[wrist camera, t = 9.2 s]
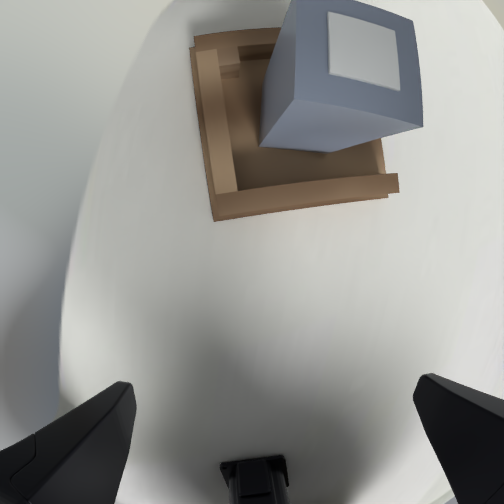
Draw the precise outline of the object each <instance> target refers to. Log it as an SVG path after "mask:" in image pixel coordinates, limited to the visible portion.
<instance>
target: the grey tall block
mask: <svg viewBox="0 0 504 504" xmlns="http://www.w3.org/2000/svg"><path fill="white" fill-rule="evenodd" d="M421 127H423V105H422V89H421V77H420V67H419V58H418V50H417V43H416V36H415V30H414V25H413V21H412V20H409V19H407V18H404V17H402V16H399V15H397V14H394V13H391V12H388V11H386V10H383V9H380V8H377V7H374V6H371V5H368V4H364V3H361V2H358V1H354V0H291V3H290V6H289V8H288V11H287V14H286V17H285V19H284V22H283V25H282V28H281V30H280V33H279V36H278V39H277V42H276V45H275V47H274V50H273V53H272V56H271V59H270V62H269V65H268V68H267V71H266V74H265V77H264V80H263V83H262V98H261V115H260V131H259V147H266V148H277V149H288V150H298V151H307V152H315V153H323V154H328V153H331V152H334V151H338V150H341V149H344V148H348V147H351V146H354V145H358V144H361V143H365V142H368V141H372V140H375V139H379V138H382V137H386V136H390V135H393V134H397V133H401V132H405V131H409V130H413V129H417V128H421Z"/></svg>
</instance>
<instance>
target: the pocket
mask: <svg viewBox="0 0 504 504" xmlns="http://www.w3.org/2000/svg"><path fill="white" fill-rule="evenodd" d="M280 30H281V28H260V29H247V30H236V31H227V32H219V33H212V34H205V35H199V36H194V42H195V47H191V48H189V49H190V58H191V66H192V75H193V83H194V91H195V99H196V106H197V114H198V121H199V128H200V135H201V143H202V149H203V156H204V163H205V170H206V176H207V183H208V189H209V195H210V202H211V208H212V214H213V220H214V222H216V221H222V220H229V219H235V218H241V217H247V216H254V215H261V214H267V213H274V212H281V211H288V210H295V209H302V208H309V207H317V206H324V205H332V204H340V203H348V202H356V201H364V200H373V199H381V198H388V194H390V193H400V192H399V182H398V173H391V174H386V171H385V163H384V156H383V149H382V142H381V138H379V139H375V140H372V141H368V142H365V143H361V144H358V145H354V146H351V147H348V148H344V149H341V150H338V151H334V152H331V153H328V154H323V153H315V152H307V151H298V150H288V149H277V148H266V147H259V131H260V115H261V98H262V83H263V80H264V77H265V74H266V71H267V68H268V65H269V62H270V59H271V56H272V53H273V50H274V47H275V45H276V42H277V39H278V36H279V33H280Z"/></svg>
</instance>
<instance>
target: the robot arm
mask: <svg viewBox="0 0 504 504" xmlns="http://www.w3.org/2000/svg"><path fill="white" fill-rule="evenodd" d="M413 401H414V404H415V406H416V409H417V411H418V414H419V416H420V419H421V422H422V424H423V427H424V430H425V432H426V435H427V437H428V439H429V441H430V443H431V445H432V447H433V449H434V451H435V453H436V455H437V457H438V460H439V462H440V464H441V466H442V468H443V470H444V472H445V475H446V477H447V479H448V481H449V483H450V486H451V488H452V490H453V493H454V495H455V497H456V499H457V502H458V504H504V400H503V399H500V398H497V397H494V396H491V395H489V394H486V393H483V392H480V391H478V390H475V389H472V388H470V387H467V386H464V385H462V384H459V383H456V382H454V381H451V380H449V379H446V378H443V377H441V376H438V375H436V374H433V373H429V374H424V375H422V376H421V377H420V378H419V381H418V383H417V386H416V388H415V391H414V394H413ZM136 409H137V405H136V400H135V395H134V389H133V386H132V384H131V383H129V382H122V381H118V382H116V383H114V384H113V385H111V386H110V387H108V388H106V389H105V390H103V391H102V392H100V393H99V394H97V395H95V396H94V397H92V398H91V399H89V400H87V401H86V402H84V403H83V404H81V405H79V406H78V407H76V408H75V409H73V410H71V411H70V412H68V413H67V414H65V415H63V416H62V417H60V418H58V419H57V420H55V421H53V422H52V423H50V424H48V425H47V426H45V427H43V428H42V429H40V430H39V431H37V432H35V434H31V435H30V436H28V437H27V438H25V439H23V440H21V441H19V442H17V443H16V444H14V445H12V446H10V447H8V448H6V449H3V450H1V451H0V504H114V503H115V499H116V496H117V492H118V488H119V485H120V481H121V478H122V475H123V471H124V468H125V465H126V461H127V458H128V454H129V449H130V444H131V438H132V432H133V427H134V421H135V416H136ZM220 470H221V472H222V475H223V477H224V479H225V481H226V484H227V486H228V488H229V501H230V504H290V503H289V498H288V493H287V489H286V487H288V486H289V481H288V474H287V467H286V460H285V457H284V456H283V455H279V456H273V457H267V458H260V459H252V460H244V461H235V462H225V463H221V464H220Z"/></svg>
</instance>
